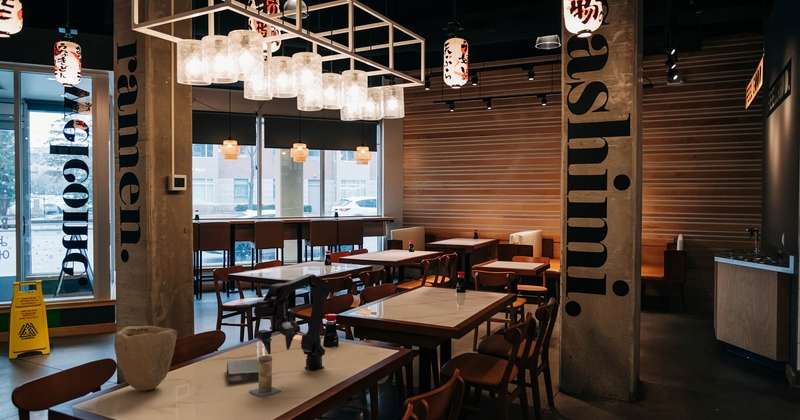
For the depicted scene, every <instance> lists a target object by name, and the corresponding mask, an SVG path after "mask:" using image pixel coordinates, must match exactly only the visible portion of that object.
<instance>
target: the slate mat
mask: <svg viewBox="0 0 800 420" xmlns="http://www.w3.org/2000/svg"><path fill="white" fill-rule="evenodd" d="M248 393H249V394H251V395H254V396H256V397H258V398H260V399H262V398H265V397H268V396H272V395H275V394H279V393H282V390H281V389H279V388H277V387H273V386H272V391H270V392H266V393H261V392H259V387H258V388H255V389H251V390H248Z"/></svg>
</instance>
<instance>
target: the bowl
mask: <svg viewBox="0 0 800 420" xmlns="http://www.w3.org/2000/svg"><path fill="white" fill-rule="evenodd" d="M177 338H178V331H177V330H175V329H173V328H171V327H160V326H154V325H143V326H142V325H139V326H137V325H135V326H134V325H133V326H132V325H131V326H129V325H128V326H125V327H123V328H122V329H121V330H119V331H117V332H116V333H115V335H114V342H113V345H114V346H113V347H114V352H115V356H116V361H117V365H118V367H119V369H120V370H121V372H122V375H123V379H124V380H125V381H126V383H128V385H129V386H130V387H131V388H133V389H135V390H138V391H141V392H145V391H150V390H155V389H156V388H158V386H159V385H160V384H161V383H162V382H163V381H164V380H165V378H166V377H167V375H168V373H169V372H170V368H171V364H172V359H173V356H174V353H175V347H176V344H177V342H176V341H177Z"/></svg>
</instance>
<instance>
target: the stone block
mask: <svg viewBox="0 0 800 420" xmlns="http://www.w3.org/2000/svg"><path fill="white" fill-rule="evenodd" d="M226 375H227V383H228V384H229V385H233V384H235V385H236V384H243V383H244V384H245V383H250V382H251V383H252V382H257V381H258V382H259V358H255V359H239V360H238V359H237V360H236V359H235V360H227V361H226Z"/></svg>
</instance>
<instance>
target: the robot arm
mask: <svg viewBox="0 0 800 420" xmlns="http://www.w3.org/2000/svg"><path fill="white" fill-rule="evenodd" d="M306 286H308V288H311V295H312V296H311V297H312V298H313V302H312V307H311V313H310V318H309V322H308V328H307V332H306V333H305V334H302V336H301V340H300V341H301V342H300V346H301V347H300V348H301V349H302V352H303V355H306V359H305V367H304V369H305V370H308V371H312V372H314V371H319V370H322V369H325V366H323V356H325V354H326V349H325V348H324V347H323V346H322V343H321V342H322V339H321V335H320V328H321V322H322V318H323V317H322V316H323V312H324V306H325V301H326V300H327V299H328V298H329V296H330V293H331V290H332V285H331V283H330V282H329V281H327V280H326V281H325V280H324V279H322V278H320V277H319V276H317V275H316V274H315V273H306V274H304V275H302V276H299V277H296V278H294V279H292V280H289V281H287V282H281V283H275V284H271V285H270V286H269V288H268V290H267V292H266V294H265V296H264V298H263V301H256V305H255V307H254V310H253V313H254V317H255V318H256V319H257V320H261V319H264V318H265V319H266V318H269V320H270V323H271V326H269V330H268V329H259V330H256V332H255V338H256V339H258V340H259V341H261V342H262V344H263V345H264V348H265V350H266V352H267V355H271V350H272V349H271V347H272V346H271V342H272V341H273V338H272V336H274V335H279V334H281V335H282V336H284V337H285V339H284V340H285V347H286V350H287V351H288V350H290V348H291V346H292V342H293V339H294V337H296V335H298V334H299V333H300V332H301V326H300V324H298V322H297V321H296V320H294V321H293V320H292V321H288V316H286V304H289V303H290V301H289V299H287V297H289V296H290V295H291V294H292V292H294V291H296V290H300V289H301V288H303V287H304V288H305V287H306Z"/></svg>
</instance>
